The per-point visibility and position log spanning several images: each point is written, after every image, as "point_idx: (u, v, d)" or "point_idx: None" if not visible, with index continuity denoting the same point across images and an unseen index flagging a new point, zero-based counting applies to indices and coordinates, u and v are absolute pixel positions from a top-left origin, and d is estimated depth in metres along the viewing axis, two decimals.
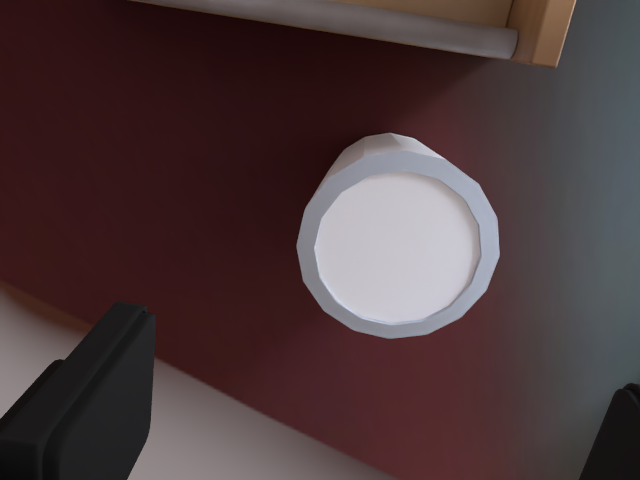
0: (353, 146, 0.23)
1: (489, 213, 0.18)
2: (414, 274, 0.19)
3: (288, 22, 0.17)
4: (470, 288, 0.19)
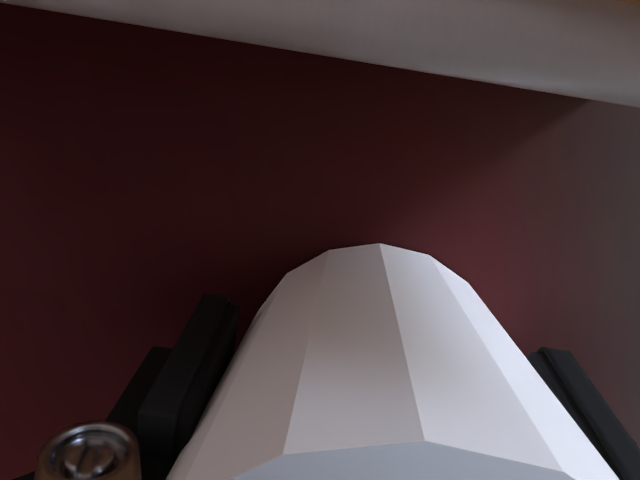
0: (300, 281, 0.11)
1: None
2: None
3: (31, 2, 0.05)
4: None
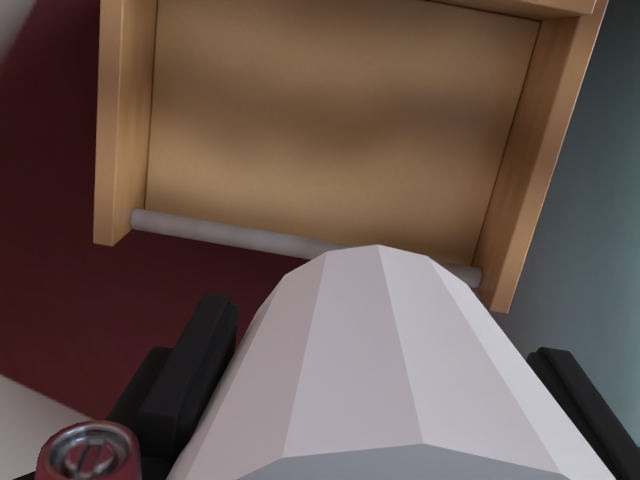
0: (299, 283, 0.11)
1: None
2: None
3: (312, 259, 0.23)
4: None
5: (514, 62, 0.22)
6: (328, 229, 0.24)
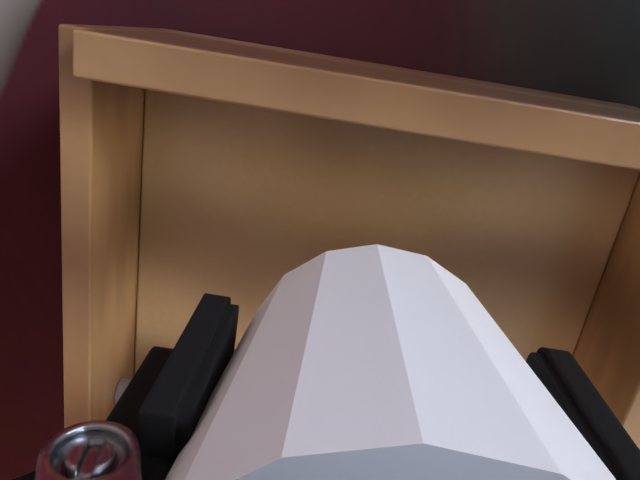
0: (298, 282, 0.11)
1: None
2: None
3: None
4: None
5: (610, 200, 0.17)
6: None
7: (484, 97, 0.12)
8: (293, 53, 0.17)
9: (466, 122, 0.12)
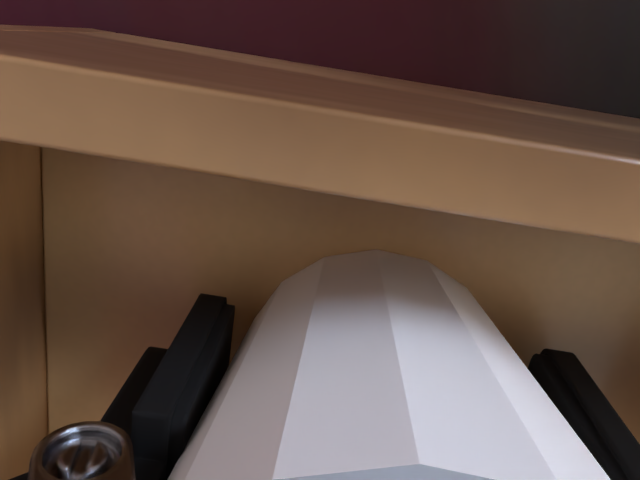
0: (295, 290, 0.11)
1: None
2: None
3: None
4: None
5: None
6: None
7: (591, 152, 0.06)
8: (261, 64, 0.11)
9: (556, 197, 0.06)
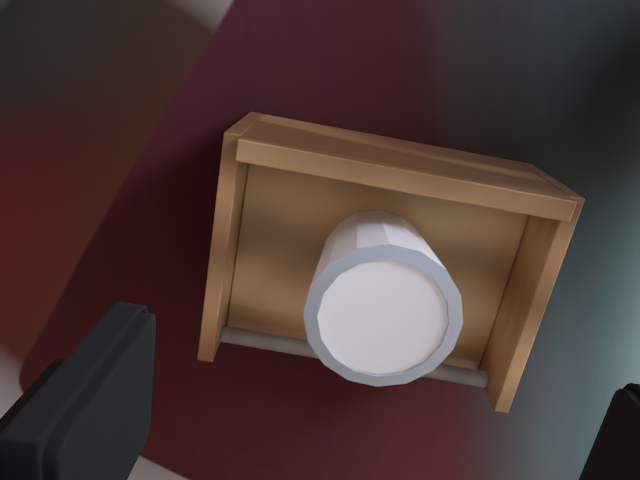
0: (347, 223, 0.28)
1: (455, 291, 0.23)
2: (396, 337, 0.24)
3: None
4: (440, 348, 0.24)
5: (514, 223, 0.29)
6: None
7: (437, 176, 0.24)
8: (334, 135, 0.29)
9: (428, 187, 0.24)
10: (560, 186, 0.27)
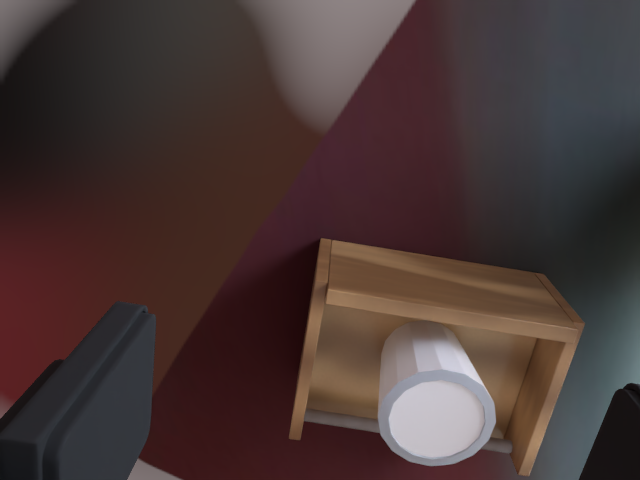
0: (402, 333, 0.36)
1: (489, 400, 0.31)
2: (446, 432, 0.32)
3: None
4: (479, 439, 0.32)
5: None
6: None
7: (474, 312, 0.32)
8: (390, 264, 0.37)
9: (468, 320, 0.32)
10: (566, 308, 0.35)
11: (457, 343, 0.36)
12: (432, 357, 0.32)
